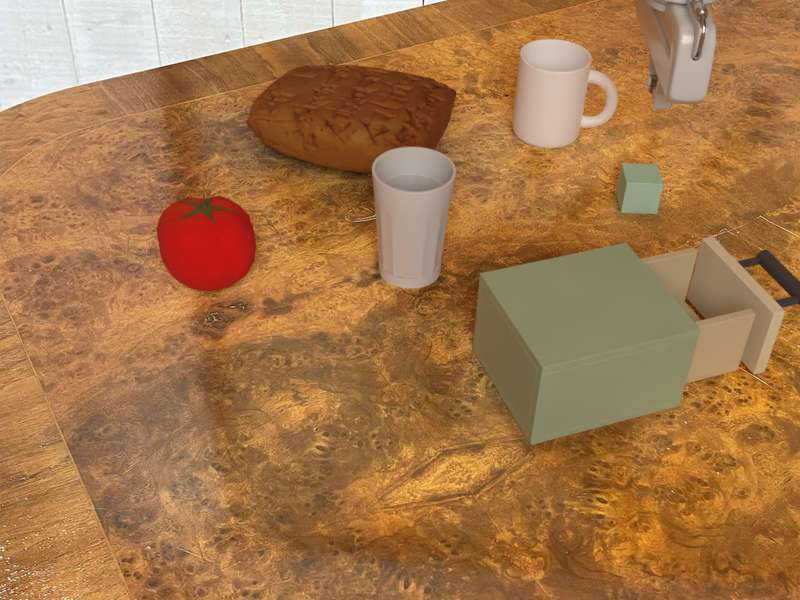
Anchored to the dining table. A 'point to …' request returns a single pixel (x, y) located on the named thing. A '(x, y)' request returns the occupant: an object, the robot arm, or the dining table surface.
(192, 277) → the tomato
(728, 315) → the drawer
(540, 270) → the cabinet
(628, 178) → the block
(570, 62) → the mug
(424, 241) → the cup
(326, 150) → the brown bread loaf
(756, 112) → the dining table surface
